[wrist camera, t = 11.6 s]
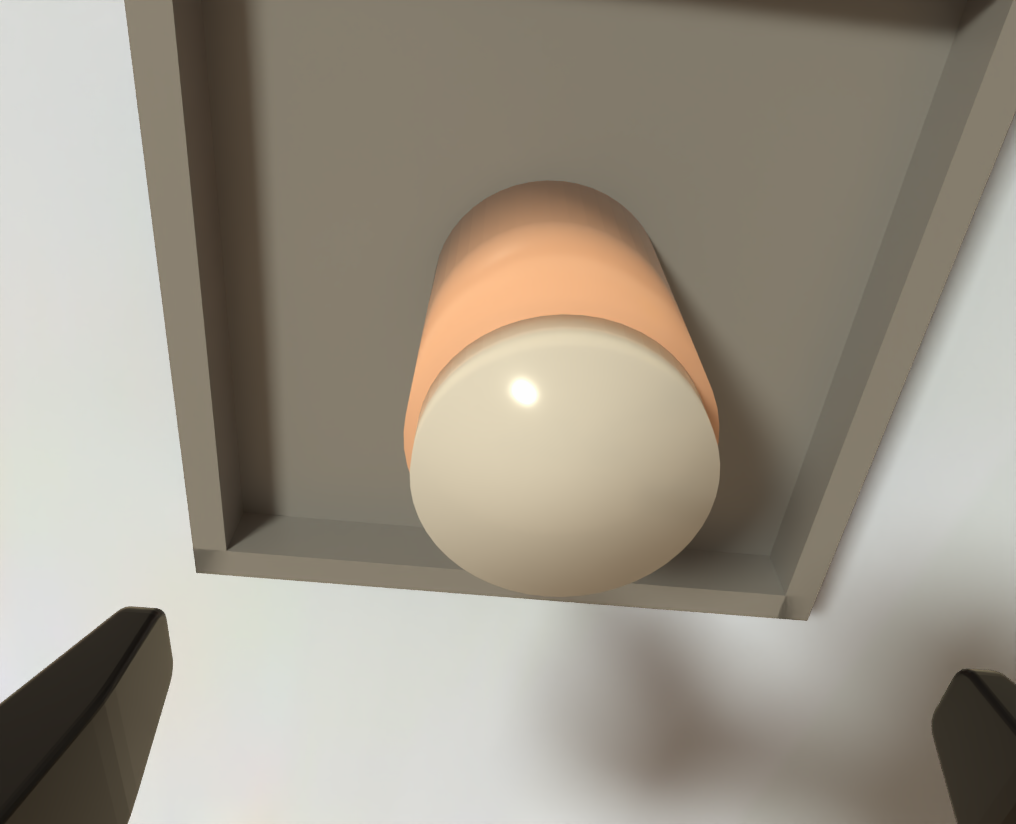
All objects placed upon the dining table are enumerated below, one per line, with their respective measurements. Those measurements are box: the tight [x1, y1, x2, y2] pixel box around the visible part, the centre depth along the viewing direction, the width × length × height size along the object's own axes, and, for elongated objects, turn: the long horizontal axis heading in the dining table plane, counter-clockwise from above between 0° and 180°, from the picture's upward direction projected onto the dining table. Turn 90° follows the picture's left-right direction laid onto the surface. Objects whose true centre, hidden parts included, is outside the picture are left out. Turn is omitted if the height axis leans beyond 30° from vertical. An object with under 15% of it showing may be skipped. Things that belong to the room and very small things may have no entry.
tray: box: [124, 0, 1016, 621], centre depth 18 cm, size 16×16×2 cm
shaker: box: [404, 180, 720, 597], centre depth 15 cm, size 5×5×7 cm
